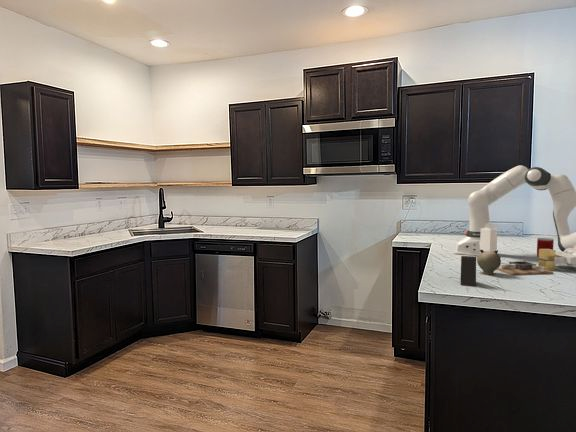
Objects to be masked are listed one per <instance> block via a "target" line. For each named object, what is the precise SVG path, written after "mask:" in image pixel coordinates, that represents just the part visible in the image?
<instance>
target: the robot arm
mask: <svg viewBox="0 0 576 432" xmlns="http://www.w3.org/2000/svg"><path fill="white" fill-rule="evenodd" d="M525 184H527V185H528V186H529V187H531V188H532V189H535V190H537V191H545V190H546V191H547V190H548V191H549V195H551V196H550V197H551V200H552V203H553V204H552V205H553V211H552V217H553V223H554V227H555V232H556V236H557V246H558V248H559V250H560V251H559V250H556V255H555V257H553V261H555V262H560V263H564V264H566V266H569V267H570V266H573V267H574V266H576V231H575V232H572V233H571V230H570V228H569V223H568V222H569V221H568V218H569V216H570V214H571V213H572V211H573V210H574V209H575V208H576V189H575V187H574V185H573V182H572V181H571V180H570V178H569V177H568V176H567V175H565V174H564V173H559V174H555V175H552V174H551V173H550V172H549V171H547V170H545V169H544V168H543V167H539V166H534V167H531V168H528V167H527V166H525V165H517V166H514V167H512V168H511V169H508V170H507V171H505V172H503V173H501V174H500V175H499V176H497V177H495V178H494V179H493V180H492V181H490V182H488V183H487V184H486V185H485V186H483V187H482V188H481V189H479V190H476V191H473V192H471V193H470V194H469V195H468V197H467V198H468V199H467V202H468V213H469V230H465V231H464V233H465V236H464V237H463V238H461V239H460V240H458V241H457V243H456V244H455V248H453V249H452V250H451V253H452V254H455V255H462V256H474V257H478V255H479V254H480V233H481V228H483V227H485V226H486V223H490V213H489V206H490V205H492V204H493V203H495V202H496V201H499V199H502V198H503V197H504V196H506V195H507V194H509V193H510V192H512V191H514V190H516V189H517V188H518V187H521V185H525Z"/></svg>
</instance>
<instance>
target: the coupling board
mask: <svg viewBox="0 0 576 432" xmlns="http://www.w3.org/2000/svg"><path fill="white" fill-rule="evenodd" d="M498 270H499V271H498ZM495 271H498V272H502V273H505V274H507V275H511V276H525V275H526V276H528V275H527V274H534V275H553V274H554V271H553V270H545V267H542V266H538V265H537V263H534V262H533V263H532V262H529V261H526V260H525V261H524V260H520V261H517V260H515V261H509V262H508V263H504V264H503V263H502V264H500V267H499V268H497V269H496V270H495Z"/></svg>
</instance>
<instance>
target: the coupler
mask: <svg viewBox="0 0 576 432" xmlns="http://www.w3.org/2000/svg"><path fill="white" fill-rule="evenodd" d="M556 251H557V250H555V249H553V250H552V249H539V257H538V265H537V266H542V267H545V270H549V271H555V270H556V261H553V257H555V255H556Z"/></svg>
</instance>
